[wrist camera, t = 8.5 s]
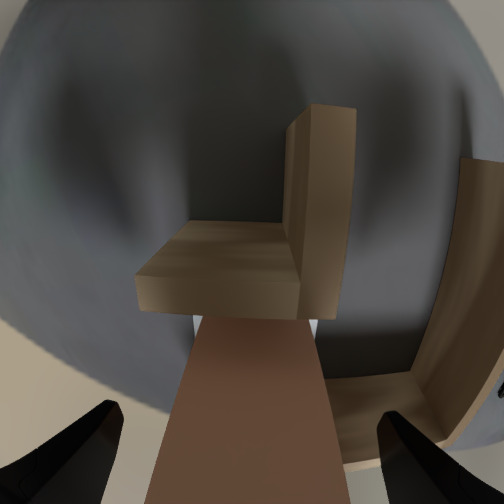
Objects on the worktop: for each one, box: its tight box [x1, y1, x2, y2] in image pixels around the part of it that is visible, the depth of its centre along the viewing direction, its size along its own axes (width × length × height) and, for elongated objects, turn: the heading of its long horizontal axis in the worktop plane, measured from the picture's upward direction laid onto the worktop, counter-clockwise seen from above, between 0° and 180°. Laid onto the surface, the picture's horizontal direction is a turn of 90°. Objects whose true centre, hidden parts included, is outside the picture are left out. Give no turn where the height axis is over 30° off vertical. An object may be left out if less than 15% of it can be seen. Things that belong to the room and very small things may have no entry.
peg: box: [144, 316, 350, 504], centre depth 9 cm, size 4×4×10 cm
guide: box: [135, 103, 504, 472], centre depth 10 cm, size 14×14×6 cm
